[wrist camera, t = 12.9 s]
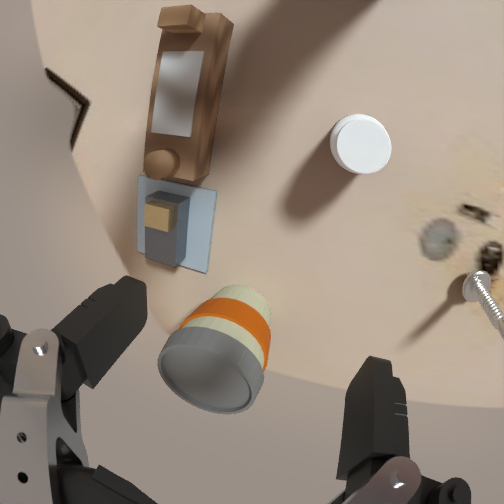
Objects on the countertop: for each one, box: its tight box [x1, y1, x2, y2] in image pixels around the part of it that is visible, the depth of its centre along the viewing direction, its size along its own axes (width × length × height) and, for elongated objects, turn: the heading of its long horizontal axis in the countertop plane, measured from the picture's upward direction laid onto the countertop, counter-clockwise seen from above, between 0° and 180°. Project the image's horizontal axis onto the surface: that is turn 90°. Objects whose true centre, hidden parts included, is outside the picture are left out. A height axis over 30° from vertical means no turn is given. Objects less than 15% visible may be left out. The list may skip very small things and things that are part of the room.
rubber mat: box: [137, 176, 217, 273], centre depth 40 cm, size 12×12×1 cm
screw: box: [462, 270, 504, 339], centre depth 26 cm, size 13×5×5 cm
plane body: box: [143, 5, 234, 181], centre depth 29 cm, size 20×7×8 cm, turn 170°
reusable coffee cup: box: [158, 285, 271, 414], centre depth 37 cm, size 12×13×15 cm
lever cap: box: [144, 190, 190, 267], centre depth 38 cm, size 9×5×4 cm, turn 170°
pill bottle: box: [330, 114, 391, 174], centre depth 26 cm, size 6×6×10 cm
